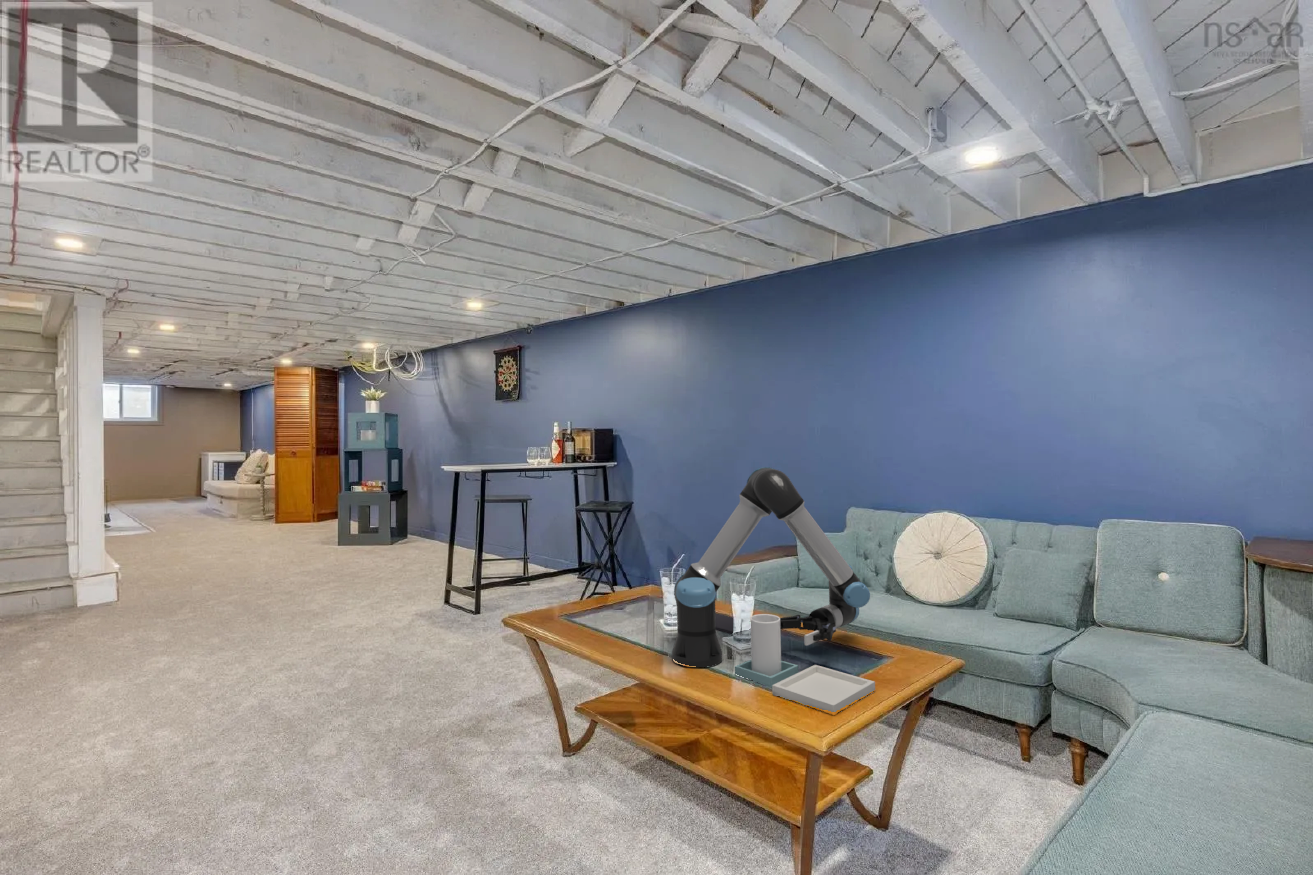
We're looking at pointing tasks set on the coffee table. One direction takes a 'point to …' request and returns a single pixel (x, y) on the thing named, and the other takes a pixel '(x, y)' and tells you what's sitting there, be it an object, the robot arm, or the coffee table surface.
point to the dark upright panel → (724, 623)
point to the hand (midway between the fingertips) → (785, 635)
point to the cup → (765, 644)
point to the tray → (823, 688)
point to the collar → (747, 672)
